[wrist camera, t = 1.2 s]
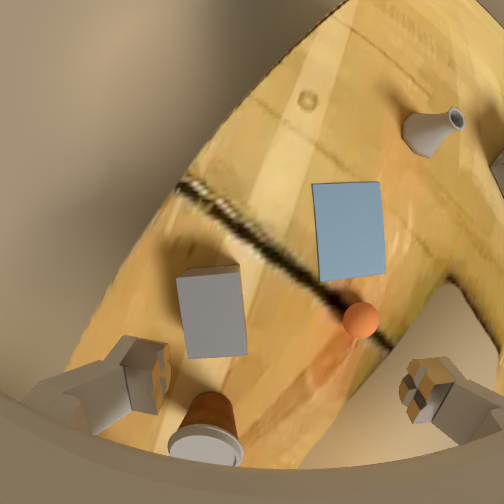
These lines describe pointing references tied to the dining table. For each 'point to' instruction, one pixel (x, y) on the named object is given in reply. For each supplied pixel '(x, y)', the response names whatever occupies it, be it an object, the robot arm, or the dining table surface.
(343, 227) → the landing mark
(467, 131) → the dining table surface
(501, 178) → the soda pack
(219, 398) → the disposable coffee cup
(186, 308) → the plain grey carton
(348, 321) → the ball
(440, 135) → the flask
